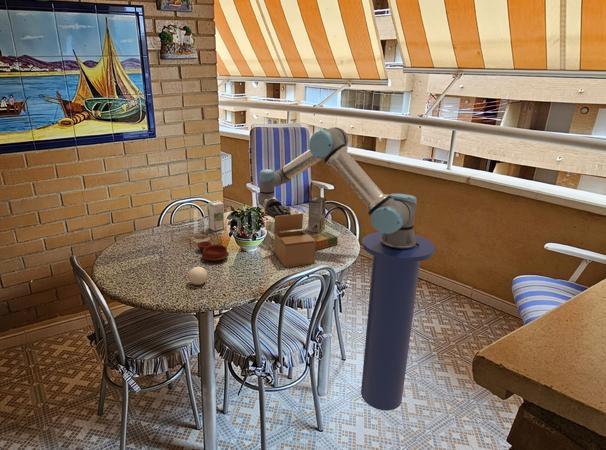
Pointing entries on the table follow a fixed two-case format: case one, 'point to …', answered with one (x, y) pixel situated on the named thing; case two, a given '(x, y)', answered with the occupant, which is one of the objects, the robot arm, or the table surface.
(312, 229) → the coffee box
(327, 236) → the carton
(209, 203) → the syrup box
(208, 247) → the pottery
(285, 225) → the flap
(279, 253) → the box
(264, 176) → the robot arm
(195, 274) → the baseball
